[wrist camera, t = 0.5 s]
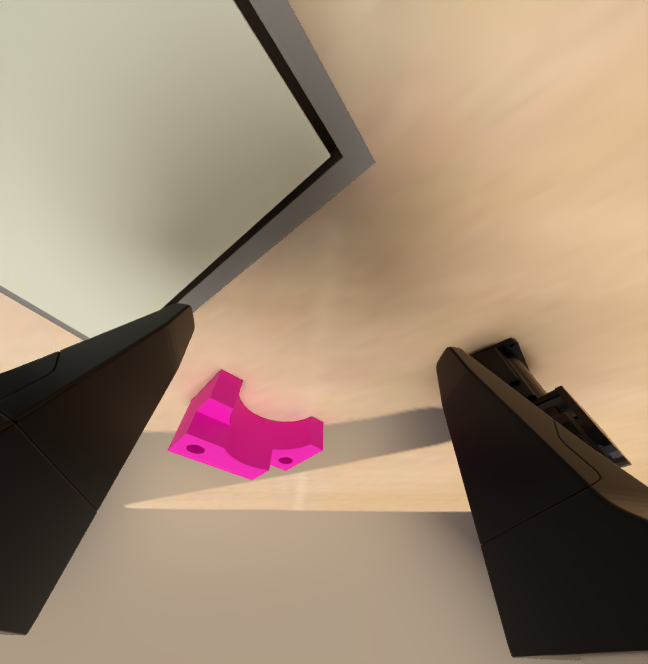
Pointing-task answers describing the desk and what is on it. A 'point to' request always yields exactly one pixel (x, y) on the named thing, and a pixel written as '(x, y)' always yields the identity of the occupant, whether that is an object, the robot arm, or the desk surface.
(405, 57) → the desk surface
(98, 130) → the trapdoor
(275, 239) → the hatch box
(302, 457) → the magenta saddle bracket
